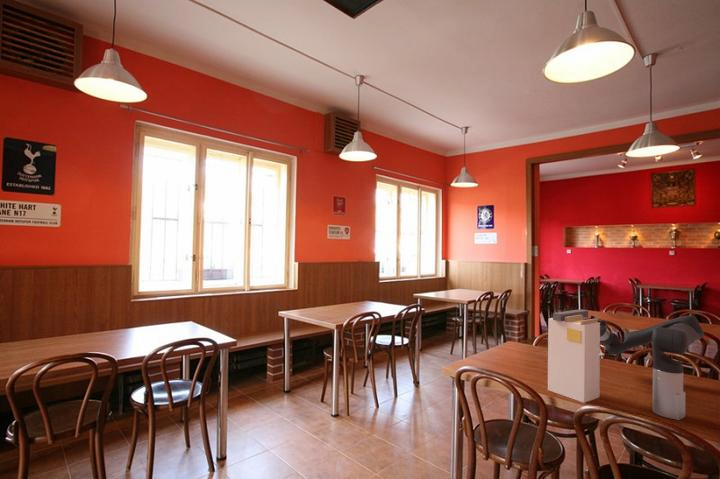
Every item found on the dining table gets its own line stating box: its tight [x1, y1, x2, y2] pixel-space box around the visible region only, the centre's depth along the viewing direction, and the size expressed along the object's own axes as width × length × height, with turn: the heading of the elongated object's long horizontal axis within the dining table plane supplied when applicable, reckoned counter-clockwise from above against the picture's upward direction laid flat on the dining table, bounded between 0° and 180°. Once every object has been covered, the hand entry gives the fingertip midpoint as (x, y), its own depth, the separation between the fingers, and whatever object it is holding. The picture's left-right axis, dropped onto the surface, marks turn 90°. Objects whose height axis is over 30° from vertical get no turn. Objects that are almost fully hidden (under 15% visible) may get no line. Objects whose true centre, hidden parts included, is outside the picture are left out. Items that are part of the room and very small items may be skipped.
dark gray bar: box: [552, 309, 589, 321], centre depth 172 cm, size 4×22×3 cm, turn 121°
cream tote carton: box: [547, 315, 601, 404], centre depth 167 cm, size 16×12×34 cm
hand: (581, 315), depth 178 cm, fingers open, 8 cm apart
